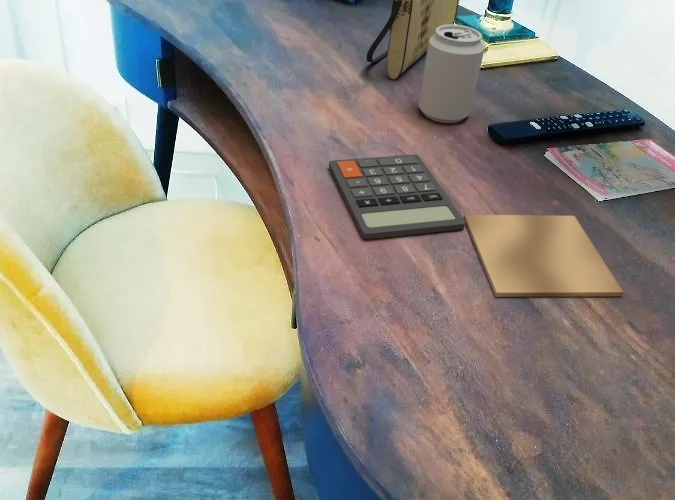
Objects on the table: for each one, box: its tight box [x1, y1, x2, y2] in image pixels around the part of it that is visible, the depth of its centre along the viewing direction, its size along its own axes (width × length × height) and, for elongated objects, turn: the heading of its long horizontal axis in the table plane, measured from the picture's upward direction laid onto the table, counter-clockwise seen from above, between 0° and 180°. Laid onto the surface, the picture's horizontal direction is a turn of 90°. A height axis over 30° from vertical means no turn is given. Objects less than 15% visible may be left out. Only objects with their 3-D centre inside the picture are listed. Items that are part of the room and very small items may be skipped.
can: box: [418, 24, 486, 124], centre depth 89 cm, size 8×8×12 cm
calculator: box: [328, 154, 466, 240], centre depth 75 cm, size 12×1×15 cm
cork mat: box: [462, 214, 625, 298], centre depth 68 cm, size 13×13×1 cm
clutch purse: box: [366, 0, 460, 80], centre depth 106 cm, size 30×7×15 cm, turn 153°
